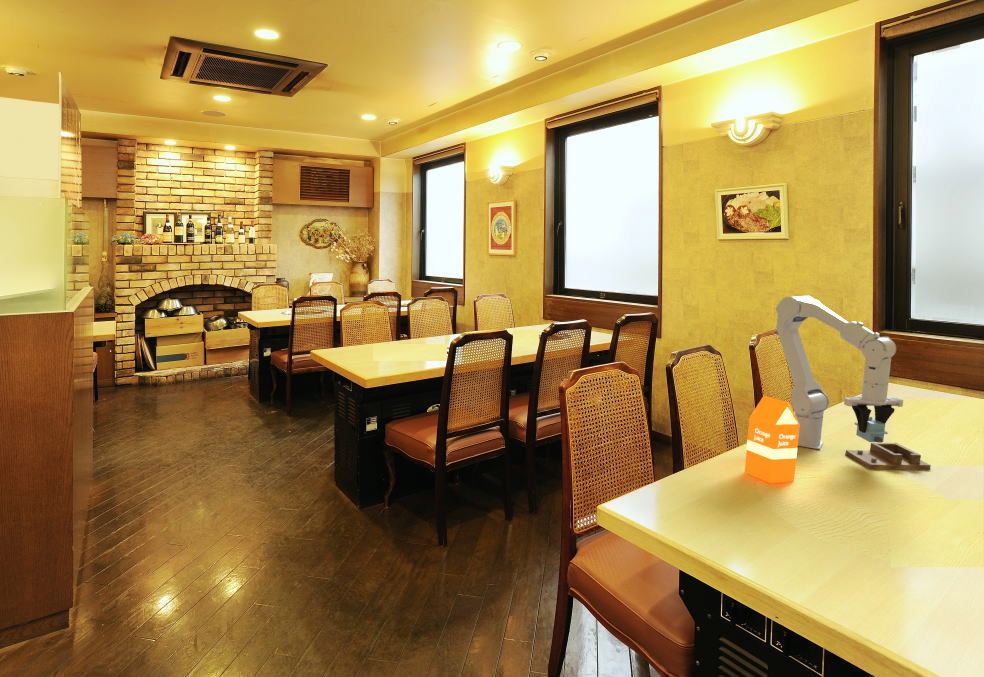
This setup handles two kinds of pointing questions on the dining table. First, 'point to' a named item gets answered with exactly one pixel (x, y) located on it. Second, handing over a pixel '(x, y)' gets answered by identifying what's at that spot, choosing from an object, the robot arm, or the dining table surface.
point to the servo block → (873, 431)
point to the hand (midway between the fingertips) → (870, 431)
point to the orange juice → (772, 441)
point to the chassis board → (888, 457)
